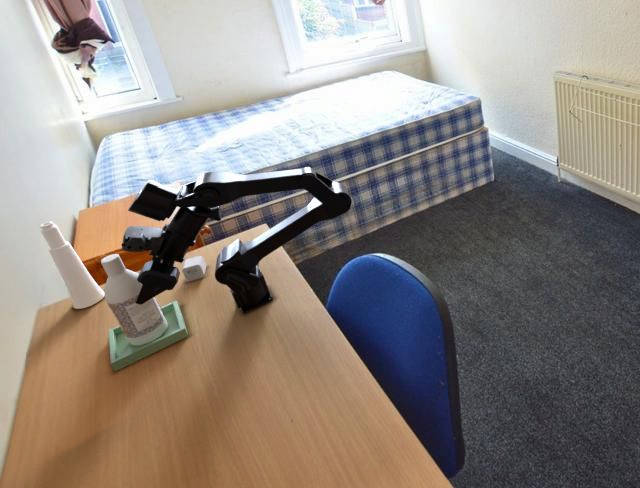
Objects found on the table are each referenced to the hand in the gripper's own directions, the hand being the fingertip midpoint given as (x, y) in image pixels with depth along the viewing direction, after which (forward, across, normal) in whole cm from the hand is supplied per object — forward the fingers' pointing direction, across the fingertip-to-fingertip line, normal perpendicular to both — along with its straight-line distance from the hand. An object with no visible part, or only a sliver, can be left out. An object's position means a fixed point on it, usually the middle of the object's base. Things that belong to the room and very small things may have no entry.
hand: (143, 290), depth 97 cm
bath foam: (+10, 0, +6) cm, 11 cm away
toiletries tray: (+10, 0, +6) cm, 12 cm away
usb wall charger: (+5, -21, +11) cm, 25 cm away
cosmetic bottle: (+21, -24, -5) cm, 32 cm away
